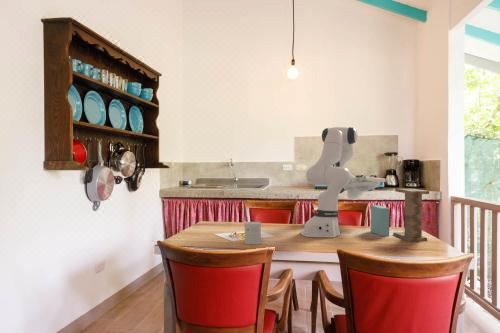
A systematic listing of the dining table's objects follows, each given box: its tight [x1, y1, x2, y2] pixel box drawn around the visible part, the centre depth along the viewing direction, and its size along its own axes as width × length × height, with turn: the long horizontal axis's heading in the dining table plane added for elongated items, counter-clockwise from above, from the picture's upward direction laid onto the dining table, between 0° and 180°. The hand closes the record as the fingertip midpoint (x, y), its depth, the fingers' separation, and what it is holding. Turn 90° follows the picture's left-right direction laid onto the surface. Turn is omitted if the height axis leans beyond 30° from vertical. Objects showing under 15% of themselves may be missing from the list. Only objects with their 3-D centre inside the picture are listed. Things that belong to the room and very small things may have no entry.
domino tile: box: [363, 176, 387, 183], centre depth 199 cm, size 4×22×2 cm, turn 5°
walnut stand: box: [392, 188, 430, 242], centre depth 177 cm, size 11×16×26 cm
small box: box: [244, 221, 262, 245], centre depth 167 cm, size 8×6×10 cm
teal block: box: [370, 204, 390, 237], centre depth 189 cm, size 5×12×16 cm, turn 5°
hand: (368, 176), depth 205 cm, fingers closed on domino tile, 4 cm apart
